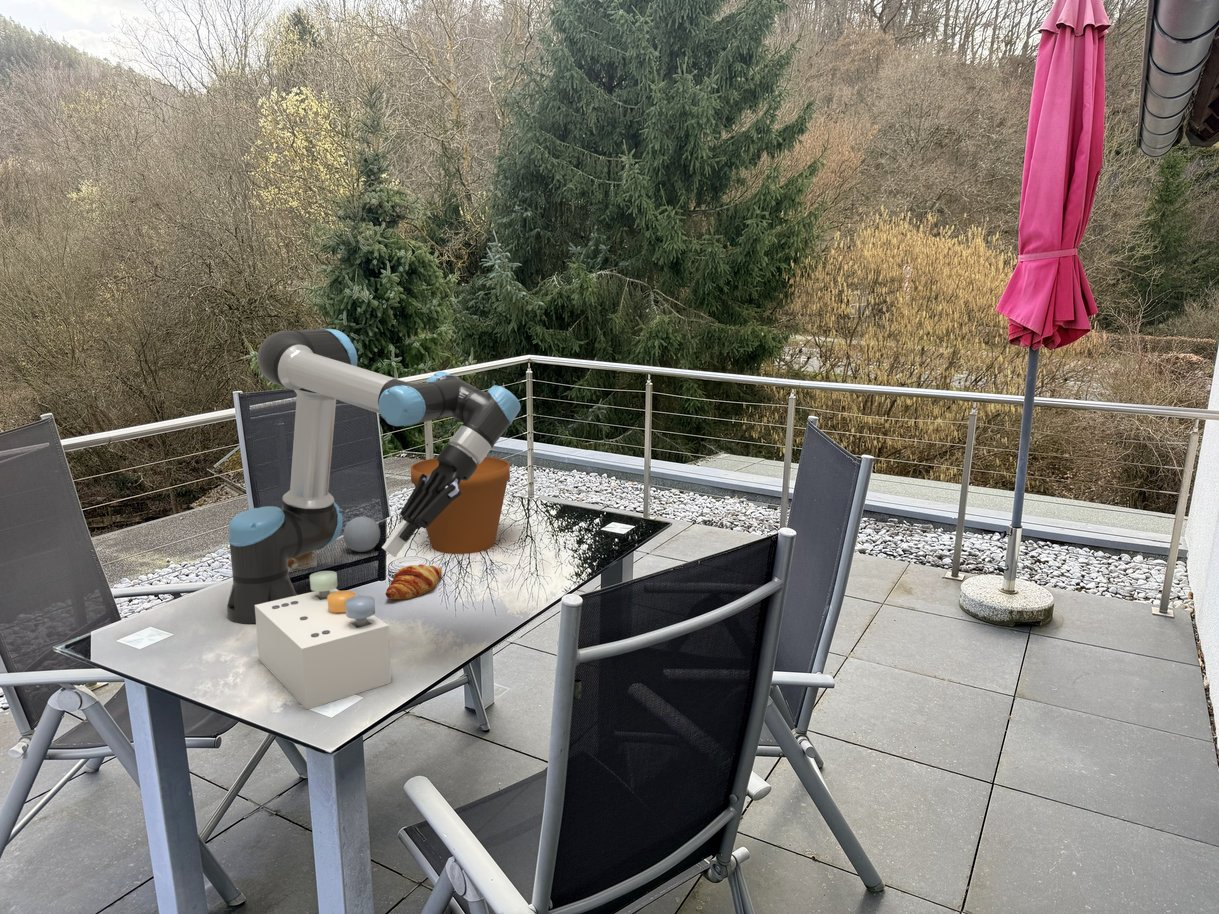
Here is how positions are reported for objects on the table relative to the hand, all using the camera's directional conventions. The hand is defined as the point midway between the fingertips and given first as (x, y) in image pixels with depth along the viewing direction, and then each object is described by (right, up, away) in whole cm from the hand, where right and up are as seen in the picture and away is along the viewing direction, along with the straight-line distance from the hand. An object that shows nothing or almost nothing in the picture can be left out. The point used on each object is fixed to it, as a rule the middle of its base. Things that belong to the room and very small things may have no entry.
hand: (388, 552), depth 153 cm
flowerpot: (-1, -8, +85) cm, 86 cm away
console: (-14, -24, +5) cm, 28 cm away
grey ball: (-28, -9, +78) cm, 84 cm away
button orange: (-10, -14, +6) cm, 19 cm away
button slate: (-5, -14, -1) cm, 15 cm away
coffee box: (-42, -12, +64) cm, 77 cm away
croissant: (-6, -15, +48) cm, 51 cm away
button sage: (-16, -11, +13) cm, 24 cm away
